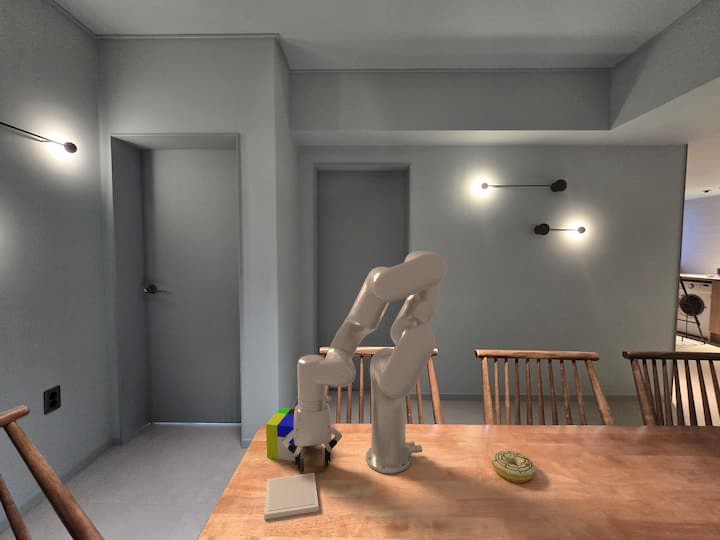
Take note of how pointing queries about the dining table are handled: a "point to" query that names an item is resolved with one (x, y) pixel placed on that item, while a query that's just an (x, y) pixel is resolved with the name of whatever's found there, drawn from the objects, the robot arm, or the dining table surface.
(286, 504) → the plate
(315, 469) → the walnut cube
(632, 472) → the dining table surface
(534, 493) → the dining table surface
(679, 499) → the dining table surface
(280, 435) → the puzzle toy
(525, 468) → the decorated donut
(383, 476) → the dining table surface
